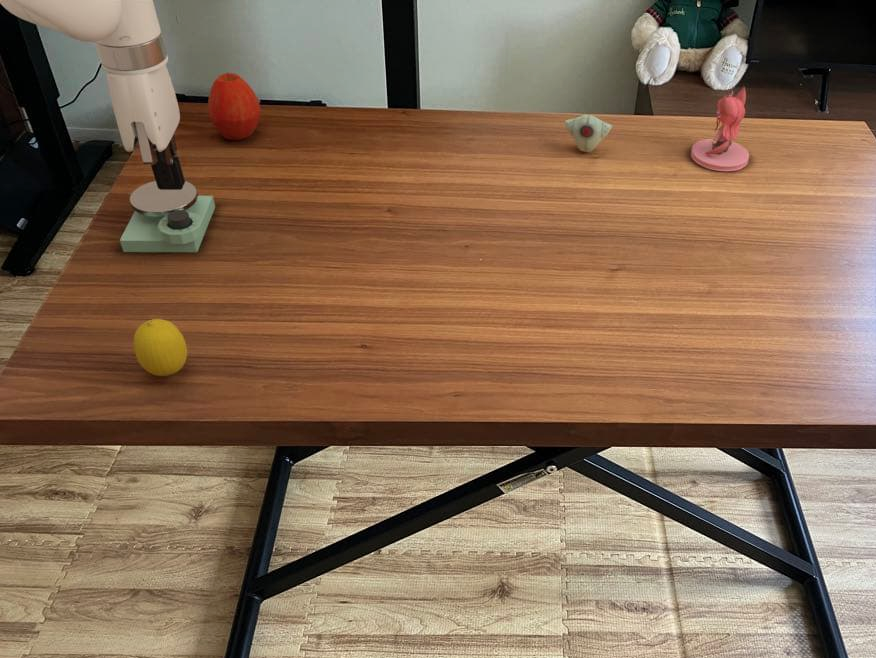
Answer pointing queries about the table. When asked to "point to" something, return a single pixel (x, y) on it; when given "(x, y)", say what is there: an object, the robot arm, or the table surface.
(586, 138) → the robot head
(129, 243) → the scale
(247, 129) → the apple
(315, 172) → the table surface
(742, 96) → the toy figure
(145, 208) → the scale weighing pan
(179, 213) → the tare button
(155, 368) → the lemon
